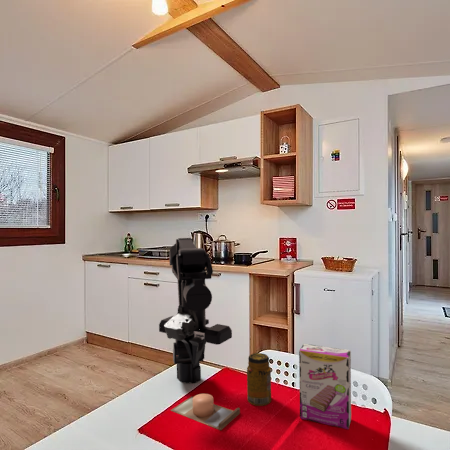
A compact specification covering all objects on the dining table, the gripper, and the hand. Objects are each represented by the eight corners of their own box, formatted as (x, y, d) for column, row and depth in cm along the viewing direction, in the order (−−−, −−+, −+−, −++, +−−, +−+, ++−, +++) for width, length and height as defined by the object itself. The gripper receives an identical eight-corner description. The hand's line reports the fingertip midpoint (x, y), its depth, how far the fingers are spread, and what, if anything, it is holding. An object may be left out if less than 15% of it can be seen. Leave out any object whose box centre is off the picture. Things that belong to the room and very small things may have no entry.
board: (170, 413, 84) (170, 405, 84) (191, 399, 91) (191, 391, 91) (220, 433, 76) (220, 424, 76) (240, 416, 82) (239, 408, 82)
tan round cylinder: (188, 412, 83) (188, 400, 83) (201, 403, 87) (201, 391, 87) (205, 419, 80) (204, 406, 80) (217, 409, 84) (217, 397, 84)
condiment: (259, 393, 93) (258, 349, 93) (283, 406, 87) (282, 358, 87) (239, 403, 89) (238, 356, 88) (263, 417, 82) (262, 366, 82)
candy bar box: (299, 420, 80) (297, 349, 80) (303, 409, 85) (302, 342, 85) (350, 431, 76) (348, 356, 76) (352, 419, 80) (350, 348, 80)
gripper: (141, 303, 83) (143, 367, 83) (204, 313, 73) (205, 387, 73) (173, 294, 92) (174, 351, 93) (232, 302, 82) (233, 367, 82)
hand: (194, 363), depth 85 cm, fingers closed
